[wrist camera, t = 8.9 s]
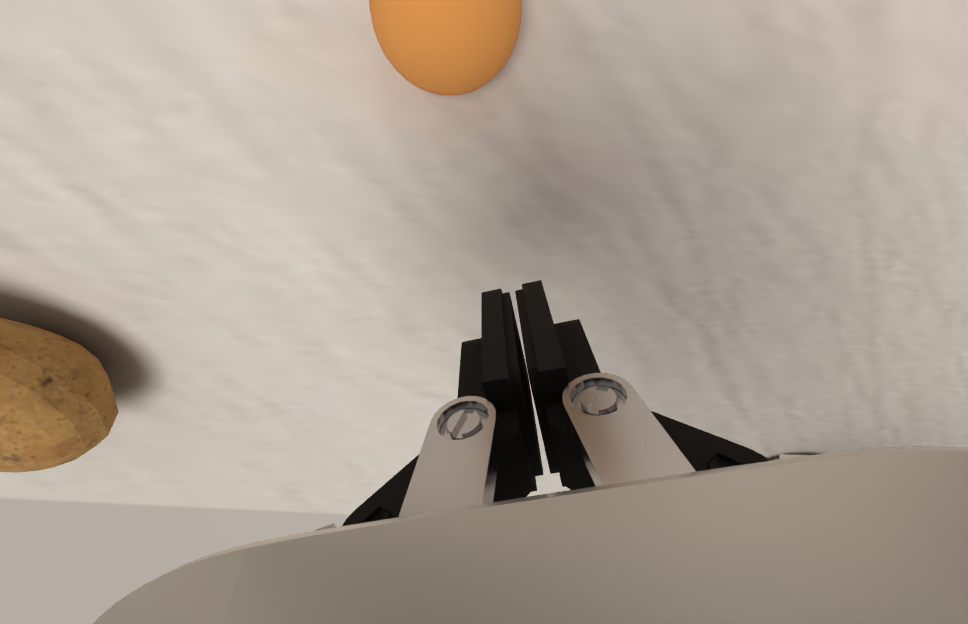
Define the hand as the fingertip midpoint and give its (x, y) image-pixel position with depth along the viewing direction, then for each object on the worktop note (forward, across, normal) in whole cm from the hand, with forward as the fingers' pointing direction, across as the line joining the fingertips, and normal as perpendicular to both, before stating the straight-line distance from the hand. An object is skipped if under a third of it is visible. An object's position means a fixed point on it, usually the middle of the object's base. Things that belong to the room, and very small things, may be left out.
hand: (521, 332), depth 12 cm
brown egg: (+11, 0, -9) cm, 14 cm away
